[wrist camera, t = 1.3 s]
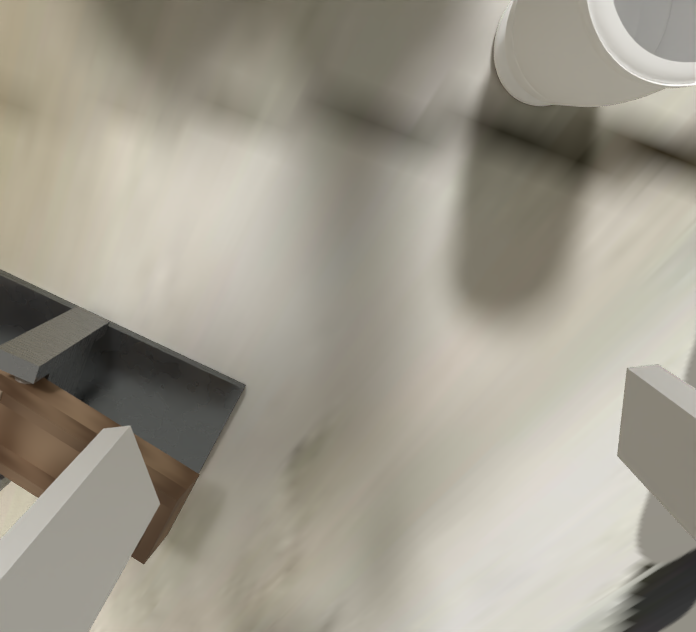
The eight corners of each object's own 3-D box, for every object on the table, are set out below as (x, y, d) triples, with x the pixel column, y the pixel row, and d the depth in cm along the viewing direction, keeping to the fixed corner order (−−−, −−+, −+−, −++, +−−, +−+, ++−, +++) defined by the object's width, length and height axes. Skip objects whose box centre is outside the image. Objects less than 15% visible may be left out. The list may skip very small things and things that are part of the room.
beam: (-136, 355, 35) (-187, 369, 32) (-120, 262, 32) (-175, 268, 29) (162, 543, 34) (137, 574, 31) (205, 464, 31) (182, 490, 28)
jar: (549, 149, 33) (698, 136, 19) (449, 65, 31) (532, -21, 17) (652, 20, 30) (921, -110, 16) (549, -82, 28) (752, -336, 14)
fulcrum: (-95, 350, 39) (-231, 406, 30) (-71, 230, 35) (-219, 252, 26) (197, 474, 44) (157, 555, 35) (247, 381, 40) (217, 444, 31)
